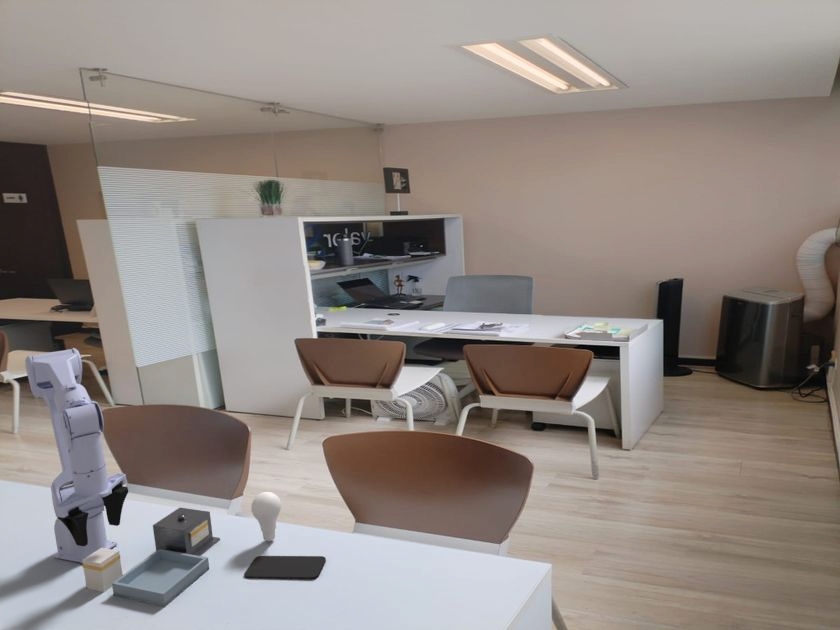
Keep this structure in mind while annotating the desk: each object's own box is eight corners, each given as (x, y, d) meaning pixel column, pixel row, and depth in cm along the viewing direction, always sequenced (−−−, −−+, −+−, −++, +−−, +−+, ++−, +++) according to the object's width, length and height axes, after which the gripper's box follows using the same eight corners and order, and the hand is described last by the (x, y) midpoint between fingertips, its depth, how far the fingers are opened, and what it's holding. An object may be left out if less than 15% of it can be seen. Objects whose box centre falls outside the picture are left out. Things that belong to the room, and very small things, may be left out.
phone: (256, 555, 126) (327, 555, 124) (256, 559, 126) (327, 559, 124) (241, 576, 118) (317, 577, 117) (242, 580, 119) (317, 581, 117)
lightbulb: (276, 549, 128) (272, 500, 126) (250, 547, 129) (244, 499, 128) (288, 534, 134) (284, 487, 132) (263, 532, 135) (258, 486, 133)
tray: (113, 595, 115) (111, 583, 115) (160, 560, 126) (159, 548, 126) (165, 606, 111) (163, 594, 111) (209, 568, 122) (208, 557, 122)
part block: (86, 588, 118) (81, 560, 117) (105, 575, 122) (101, 547, 121) (104, 592, 116) (100, 563, 115) (123, 578, 121) (119, 550, 120)
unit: (149, 558, 127) (144, 524, 126) (183, 533, 137) (179, 502, 135) (188, 565, 124) (184, 530, 123) (220, 540, 133) (216, 507, 132)
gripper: (71, 486, 107) (82, 557, 109) (134, 454, 121) (143, 518, 123) (41, 482, 109) (53, 552, 112) (107, 451, 123) (116, 514, 125)
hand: (98, 534), depth 117 cm, fingers open, 7 cm apart
